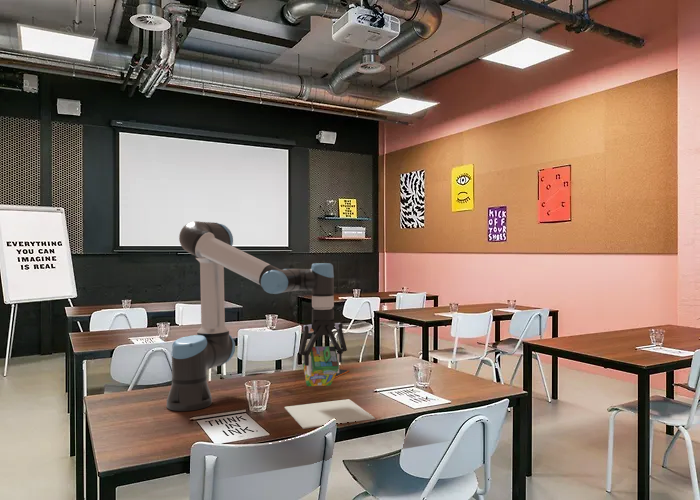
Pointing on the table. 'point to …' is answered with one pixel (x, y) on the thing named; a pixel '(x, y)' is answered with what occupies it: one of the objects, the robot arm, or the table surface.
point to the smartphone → (341, 373)
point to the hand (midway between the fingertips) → (323, 373)
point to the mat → (327, 413)
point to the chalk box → (322, 366)
